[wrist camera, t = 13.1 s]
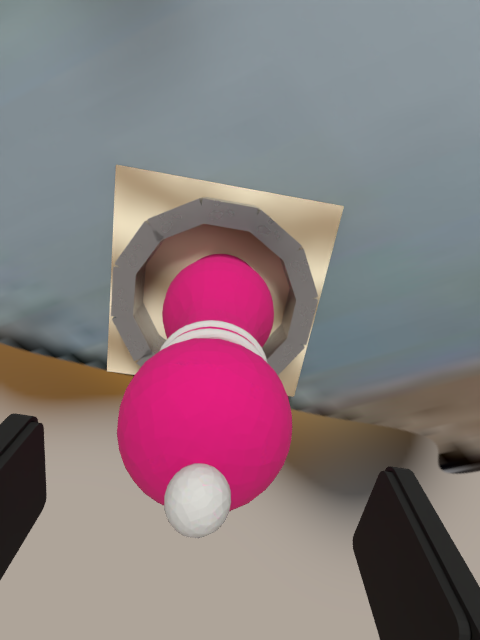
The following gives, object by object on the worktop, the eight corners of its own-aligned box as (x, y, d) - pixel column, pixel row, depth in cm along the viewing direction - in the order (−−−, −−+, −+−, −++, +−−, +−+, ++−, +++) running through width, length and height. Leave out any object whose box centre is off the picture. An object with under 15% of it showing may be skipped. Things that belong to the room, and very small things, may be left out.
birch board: (122, 165, 25) (116, 164, 24) (337, 205, 27) (343, 206, 25) (112, 362, 31) (107, 371, 30) (291, 387, 32) (293, 396, 31)
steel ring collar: (130, 183, 24) (116, 182, 22) (326, 218, 26) (338, 222, 23) (119, 362, 29) (108, 381, 26) (285, 385, 30) (290, 405, 28)
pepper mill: (160, 314, 28) (10, 579, 9) (196, 229, 26) (95, 350, 7) (242, 349, 29) (260, 647, 10) (284, 271, 27) (402, 471, 8)
